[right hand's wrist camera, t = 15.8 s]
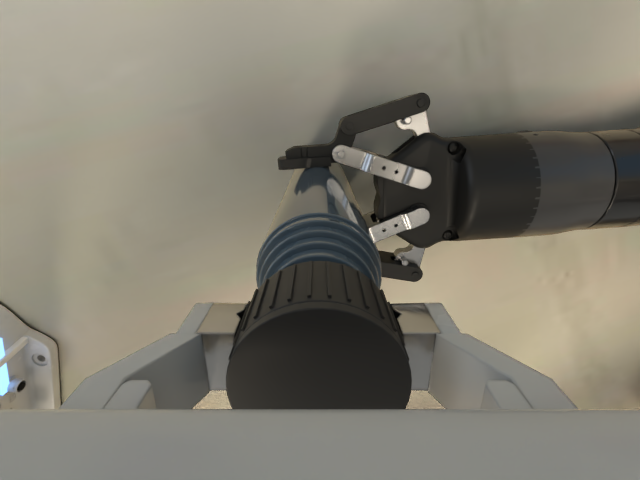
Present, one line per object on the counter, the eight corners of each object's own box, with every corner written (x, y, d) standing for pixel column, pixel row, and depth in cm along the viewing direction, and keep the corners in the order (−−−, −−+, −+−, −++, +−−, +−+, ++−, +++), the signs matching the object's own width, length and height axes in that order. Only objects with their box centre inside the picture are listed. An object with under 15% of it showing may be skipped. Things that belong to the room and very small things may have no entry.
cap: (352, 400, 11) (361, 477, 9) (225, 355, 11) (198, 424, 8) (419, 293, 10) (451, 349, 7) (277, 234, 9) (263, 275, 7)
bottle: (284, 196, 32) (192, 416, 9) (303, 145, 31) (254, 250, 7) (332, 215, 33) (368, 467, 9) (354, 167, 31) (459, 326, 8)
